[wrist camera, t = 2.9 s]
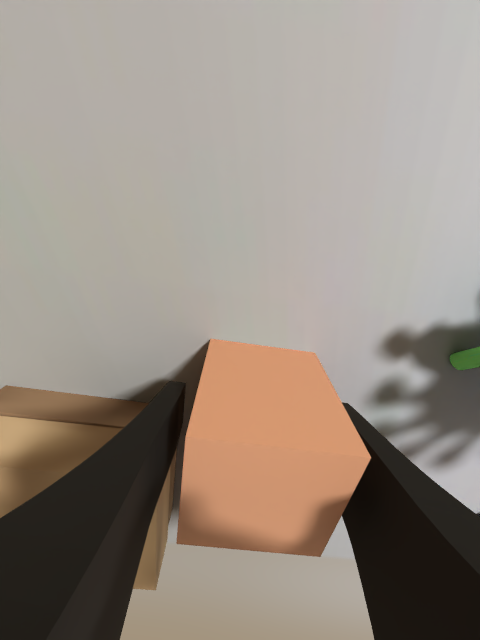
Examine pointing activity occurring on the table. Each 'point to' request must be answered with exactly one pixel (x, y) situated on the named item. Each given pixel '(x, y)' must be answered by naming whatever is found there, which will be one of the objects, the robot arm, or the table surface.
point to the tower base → (74, 412)
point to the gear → (466, 359)
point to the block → (266, 453)
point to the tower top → (56, 461)
